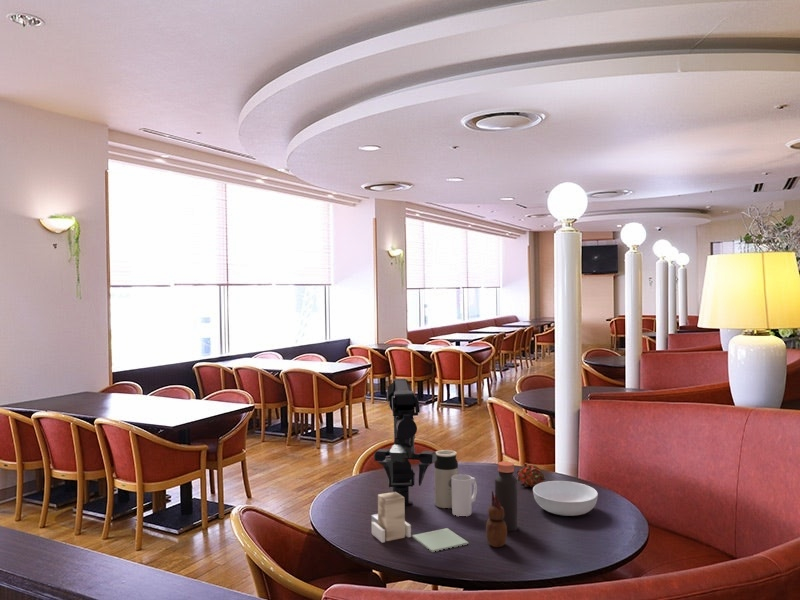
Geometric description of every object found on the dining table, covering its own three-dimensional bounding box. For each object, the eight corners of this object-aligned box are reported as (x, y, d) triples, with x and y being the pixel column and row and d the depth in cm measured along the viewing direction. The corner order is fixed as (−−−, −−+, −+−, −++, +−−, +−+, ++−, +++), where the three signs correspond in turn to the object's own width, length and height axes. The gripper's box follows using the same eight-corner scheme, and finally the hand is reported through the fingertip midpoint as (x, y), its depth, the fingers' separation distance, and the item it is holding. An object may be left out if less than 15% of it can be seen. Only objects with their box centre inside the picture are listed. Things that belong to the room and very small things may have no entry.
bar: (371, 524, 197) (371, 515, 197) (380, 522, 198) (380, 513, 198) (380, 532, 190) (380, 522, 190) (389, 530, 192) (389, 520, 192)
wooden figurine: (484, 540, 183) (483, 489, 183) (503, 539, 183) (503, 489, 183) (489, 550, 176) (488, 497, 176) (509, 549, 177) (509, 496, 176)
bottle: (499, 533, 188) (499, 467, 188) (492, 524, 195) (491, 461, 195) (520, 531, 190) (520, 465, 189) (512, 522, 196) (512, 459, 196)
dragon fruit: (543, 495, 227) (518, 491, 236) (553, 477, 231) (529, 474, 241) (532, 478, 224) (507, 475, 234) (542, 461, 229) (518, 459, 238)
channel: (371, 533, 188) (371, 522, 188) (399, 528, 193) (399, 516, 193) (381, 542, 182) (381, 530, 182) (410, 536, 186) (410, 525, 186)
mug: (460, 518, 200) (460, 481, 200) (447, 512, 206) (447, 476, 205) (483, 512, 206) (483, 476, 206) (470, 506, 211) (469, 471, 211)
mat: (412, 537, 186) (412, 535, 186) (447, 529, 191) (447, 528, 191) (432, 552, 175) (432, 550, 175) (468, 544, 180) (468, 542, 180)
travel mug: (430, 503, 215) (430, 451, 215) (451, 499, 218) (450, 448, 218) (441, 510, 208) (440, 456, 207) (462, 507, 211) (461, 454, 210)
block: (378, 534, 188) (377, 494, 188) (396, 530, 191) (395, 491, 191) (386, 541, 183) (386, 500, 183) (404, 537, 186) (404, 497, 185)
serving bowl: (520, 512, 206) (520, 491, 206) (552, 496, 221) (552, 476, 221) (579, 528, 192) (579, 506, 192) (609, 510, 207) (608, 489, 207)
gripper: (367, 436, 188) (367, 488, 187) (426, 438, 182) (427, 493, 181) (379, 430, 198) (380, 480, 197) (436, 432, 192) (437, 484, 191)
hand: (405, 484), depth 191 cm, fingers open, 9 cm apart
